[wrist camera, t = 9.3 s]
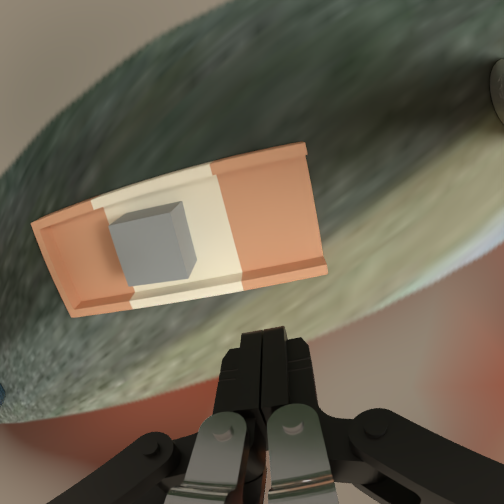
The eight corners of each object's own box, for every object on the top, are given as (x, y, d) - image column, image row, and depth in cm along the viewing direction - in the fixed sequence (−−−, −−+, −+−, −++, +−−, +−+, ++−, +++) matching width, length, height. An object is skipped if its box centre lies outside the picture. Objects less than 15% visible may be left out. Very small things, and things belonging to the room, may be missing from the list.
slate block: (182, 200, 28) (170, 212, 25) (197, 259, 31) (188, 278, 27) (125, 213, 29) (108, 226, 25) (142, 268, 31) (128, 286, 27)
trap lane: (301, 141, 26) (305, 142, 24) (323, 262, 31) (328, 274, 29) (43, 216, 30) (30, 223, 28) (80, 306, 34) (71, 317, 32)
